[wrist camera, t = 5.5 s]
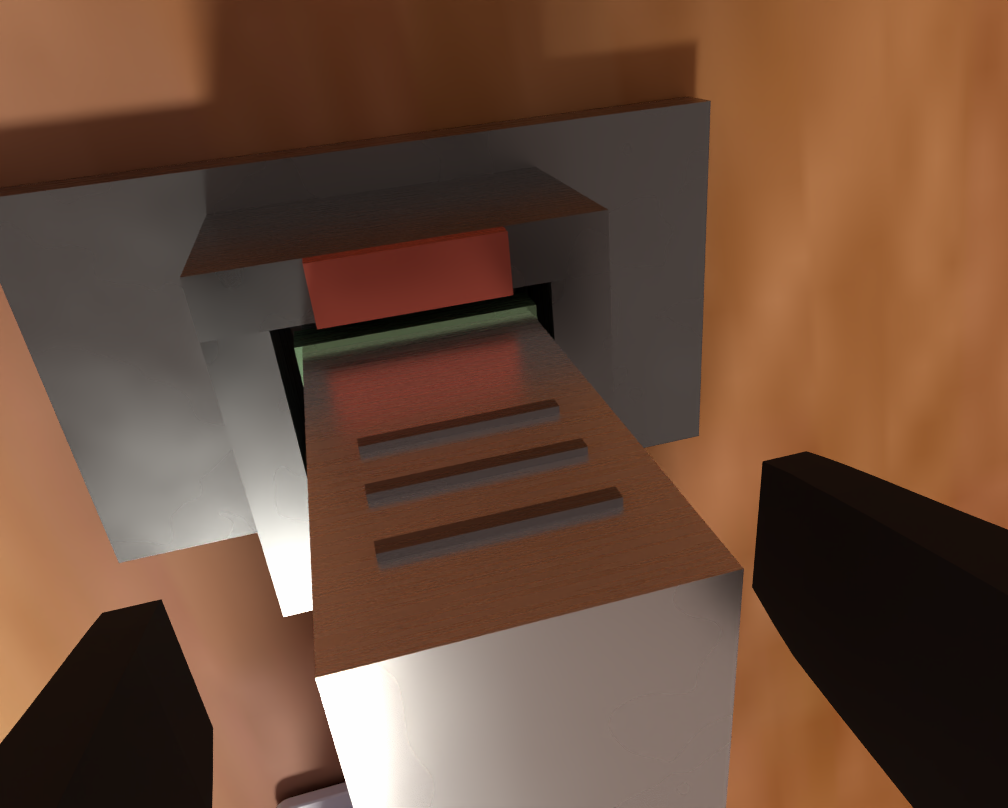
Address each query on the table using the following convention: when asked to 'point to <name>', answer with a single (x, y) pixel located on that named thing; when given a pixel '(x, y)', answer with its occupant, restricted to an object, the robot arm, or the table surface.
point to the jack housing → (343, 297)
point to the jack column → (505, 576)
